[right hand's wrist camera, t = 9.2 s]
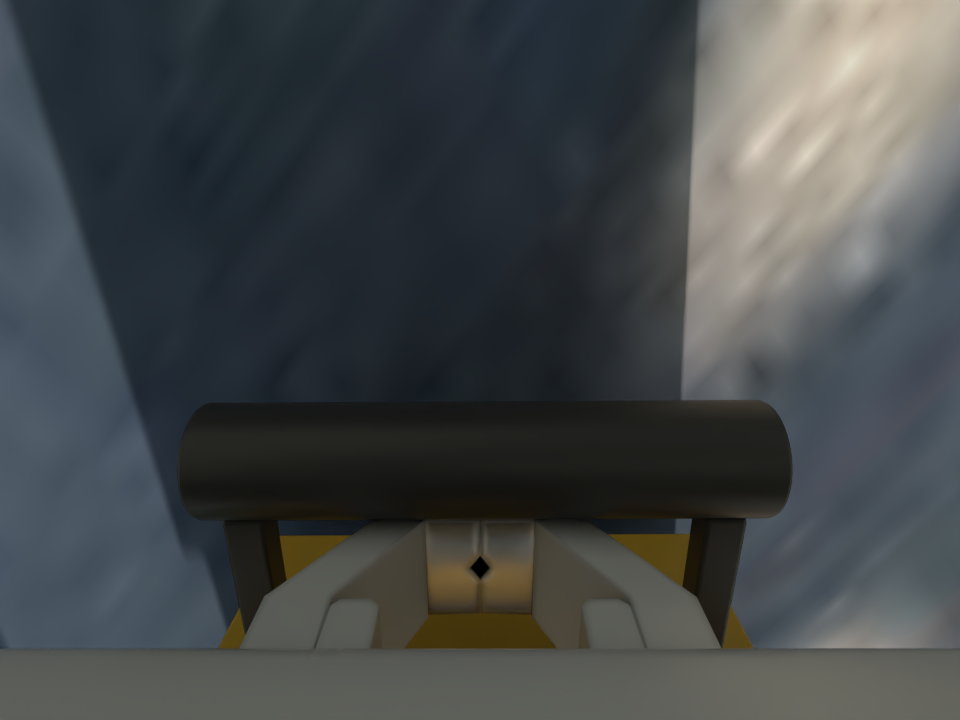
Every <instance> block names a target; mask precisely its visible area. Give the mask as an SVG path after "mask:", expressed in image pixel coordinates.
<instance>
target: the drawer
mask: <svg viewBox="0 0 960 720" xmlns="http://www.w3.org/2000/svg"><path fill="white" fill-rule="evenodd" d="M177 478H178V487H179V493H180V496H181V500H182V502H183V505H184V507H185V509H186V510H187V512H188V513H189V514H190V515H191V516H192V517H194V518H196V519H198V520H202V521H213V520H224V521H223V527H224V532H225V537H226V542H227V547H228V552H229V557H230V562H231V567H232V572H233V577H234V582H235V588H236V593H237V598H238V603H239V609H238V611H237V613H236V615H235V617H234V619H233V621H232V623H231V625H230V627H229V628H228V630H227V632H226V634H225V636H224V638H223V640H222V642H221V644H220V646H219V648H218V649H239V647H240V645H241V643H242V641H243V639H244V637H245V635H246V633H247V631H248V629H249V627H250V625H251V623H252V621H253V619H254V617H255V614H256V612H257V610H258V608H259V606H260V604H261V602H262V600H263V598H264V596H265V595H267V594H268V593H270V592H271V591H272V590H274V589H275V588H277V587H278V586H280V585H281V584H282V583H284V582H285V581H287V580H288V579H290V578H291V577H292V576H294V575H295V574H297V573H298V572H300V571H301V570H302V569H304V568H305V567H307V566H308V565H309V564H311V563H312V562H314V561H315V560H317V559H318V558H319V557H321V556H322V555H324V554H325V553H327V552H328V551H329V550H331V549H332V548H334V547H335V546H337V545H338V544H339V543H341V542H342V541H344V540H345V539H346V538H348V537H349V536H351V535H308V536H280V535H279V529H278V522H277V520H446V519H679V518H692V524H691V530H690V534H608V535H610V536H611V537H612V538H614V539H615V540H617V541H618V542H619V543H621V544H622V545H624V546H625V547H627V548H628V549H629V550H631V551H632V552H634V553H635V554H636V555H638V556H639V557H641V558H642V559H644V560H645V561H646V562H648V563H649V564H651V565H652V566H653V567H655V568H656V569H658V570H659V571H661V572H662V573H663V574H665V575H666V576H668V577H669V578H670V579H672V580H673V581H675V582H676V583H678V584H679V585H680V586H682V587H683V588H685V589H686V590H687V591H689V592H690V593H692V594H693V595H695V596H696V597H697V599H698V601H699V603H700V605H701V607H702V609H703V611H704V613H705V615H706V617H707V619H708V621H709V624H710V626H711V628H712V630H713V632H714V634H715V636H716V638H717V640H718V642H719V644H720V646H721V648H722V649H754V648H753V646H752V644H751V642H750V641H749V639H748V637H747V635H746V633H745V631H744V630H743V628H742V626H741V624H740V622H739V620H738V618H737V617H736V615H735V613H734V611H733V609H732V607H731V602H732V596H733V591H734V586H735V580H736V575H737V569H738V564H739V559H740V553H741V548H742V543H743V537H744V532H745V527H746V518H770V517H773V516H775V515H777V514H778V513H779V512H780V511H781V510H782V509H783V508H784V506H785V504H786V502H787V500H788V497H789V493H790V489H791V483H792V455H791V448H790V443H789V439H788V436H787V432H786V430H785V427H784V425H783V422H782V420H781V419H780V417H779V415H778V414H777V412H776V411H775V410H774V409H773V408H772V407H771V406H770V405H769V404H767V403H765V402H763V401H759V400H675V401H484V402H294V403H209V404H206V405H204V406H202V407H200V408H199V409H197V410H196V411H195V413H194V414H193V415H192V417H191V418H190V420H189V422H188V423H187V426H186V428H185V430H184V433H183V436H182V440H181V444H180V448H179V454H178V466H177ZM404 649H557V648H556V647H555V646H554V644H553V643H552V642H551V641H550V639H549V638H548V637H547V636H546V634H545V633H544V632H543V631H542V629H541V628H540V627H539V625H538V624H537V623H536V622H535V620H534V619H533V618H532V615H521V614H485V613H481V611H480V613H473V614H438V615H428V619H427V620H426V621H425V623H424V624H423V625H422V626H421V628H420V629H419V630H418V631H417V633H416V634H415V635H414V636H413V638H412V639H411V640H410V642H409V643H408V644H407V645H406V647H405V648H404Z"/></svg>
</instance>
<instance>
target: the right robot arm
mask: <svg viewBox="0 0 960 720" xmlns="http://www.w3.org/2000/svg"><path fill="white" fill-rule="evenodd" d="M480 611H481V613H485V614H521V615H532V618H533V619H534V620H535V622H536V623H537V624H538V625H539V627H540V628H541V629H542V631H543V632H544V633H545V634H546V636H547V637H548V638H549V639H550V641H551V642H552V643H553V644H554V646H555V647H556V648H557V649H404V648H405V647H406V645H407V644H408V643H409V642H410V640H411V639H412V638H413V636H414V635H415V634H416V633H417V631H418V630H419V629H420V628H421V626H422V625H423V624H424V623H425V621H426V620H427V619H428V615H438V614H473V613H480ZM0 720H960V649H722V648H721V646H720V644H719V642H718V640H717V638H716V636H715V634H714V632H713V630H712V628H711V626H710V624H709V621H708V619H707V617H706V615H705V613H704V611H703V609H702V607H701V605H700V603H699V601H698V599H697V597H696V596H695V595H693V594H692V593H690V592H689V591H687V590H686V589H685V588H683V587H682V586H680V585H679V584H678V583H676V582H675V581H673V580H672V579H670V578H669V577H668V576H666V575H665V574H663V573H662V572H661V571H659V570H658V569H656V568H655V567H653V566H652V565H651V564H649V563H648V562H646V561H645V560H644V559H642V558H641V557H639V556H638V555H636V554H635V553H634V552H632V551H631V550H629V549H628V548H627V547H625V546H624V545H622V544H621V543H619V542H618V541H617V540H615V539H614V538H612V537H611V536H610V535H608V534H607V533H605V532H604V531H602V530H601V529H600V528H598V527H597V526H595V525H594V524H593V523H591V522H590V521H588V520H579V519H446V520H372V521H371V522H369V523H368V524H366V525H365V526H364V527H362V528H361V529H359V530H358V531H356V532H355V533H354V534H352V535H351V536H349V537H348V538H346V539H345V540H344V541H342V542H341V543H339V544H338V545H337V546H335V547H334V548H332V549H331V550H329V551H328V552H327V553H325V554H324V555H322V556H321V557H319V558H318V559H317V560H315V561H314V562H312V563H311V564H309V565H308V566H307V567H305V568H304V569H302V570H301V571H300V572H298V573H297V574H295V575H294V576H292V577H291V578H290V579H288V580H287V581H285V582H284V583H282V584H281V585H280V586H278V587H277V588H275V589H274V590H272V591H271V592H270V593H268V594H267V595H265V596H264V598H263V600H262V602H261V604H260V606H259V608H258V610H257V612H256V614H255V617H254V619H253V621H252V623H251V625H250V627H249V629H248V631H247V633H246V635H245V637H244V639H243V641H242V643H241V645H240V647H239V649H157V648H107V649H0Z"/></svg>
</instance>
